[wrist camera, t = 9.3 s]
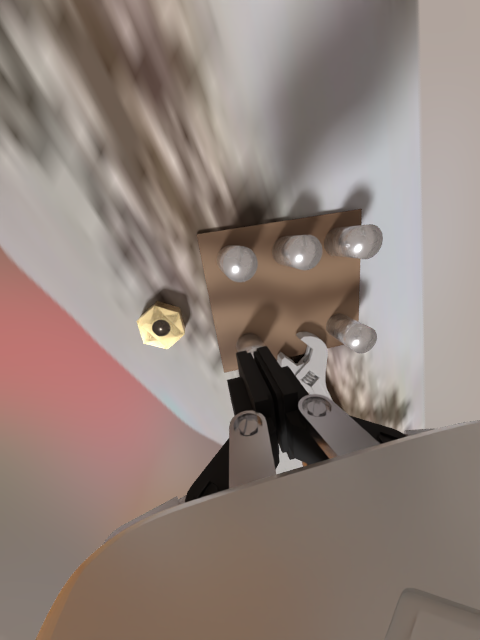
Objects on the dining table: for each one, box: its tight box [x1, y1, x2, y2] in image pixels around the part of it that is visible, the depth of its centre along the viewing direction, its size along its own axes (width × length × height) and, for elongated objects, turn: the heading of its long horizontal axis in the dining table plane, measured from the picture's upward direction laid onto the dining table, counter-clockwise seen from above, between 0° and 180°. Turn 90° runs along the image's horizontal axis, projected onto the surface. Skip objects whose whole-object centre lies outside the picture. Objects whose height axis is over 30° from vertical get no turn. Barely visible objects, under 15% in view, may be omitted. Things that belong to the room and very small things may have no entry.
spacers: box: [217, 224, 383, 358], centre depth 25 cm, size 13×15×5 cm
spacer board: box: [197, 209, 362, 373], centre depth 27 cm, size 16×18×1 cm
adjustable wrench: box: [277, 332, 333, 401], centre depth 33 cm, size 25×6×2 cm, turn 25°
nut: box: [137, 301, 185, 349], centre depth 25 cm, size 4×5×2 cm
